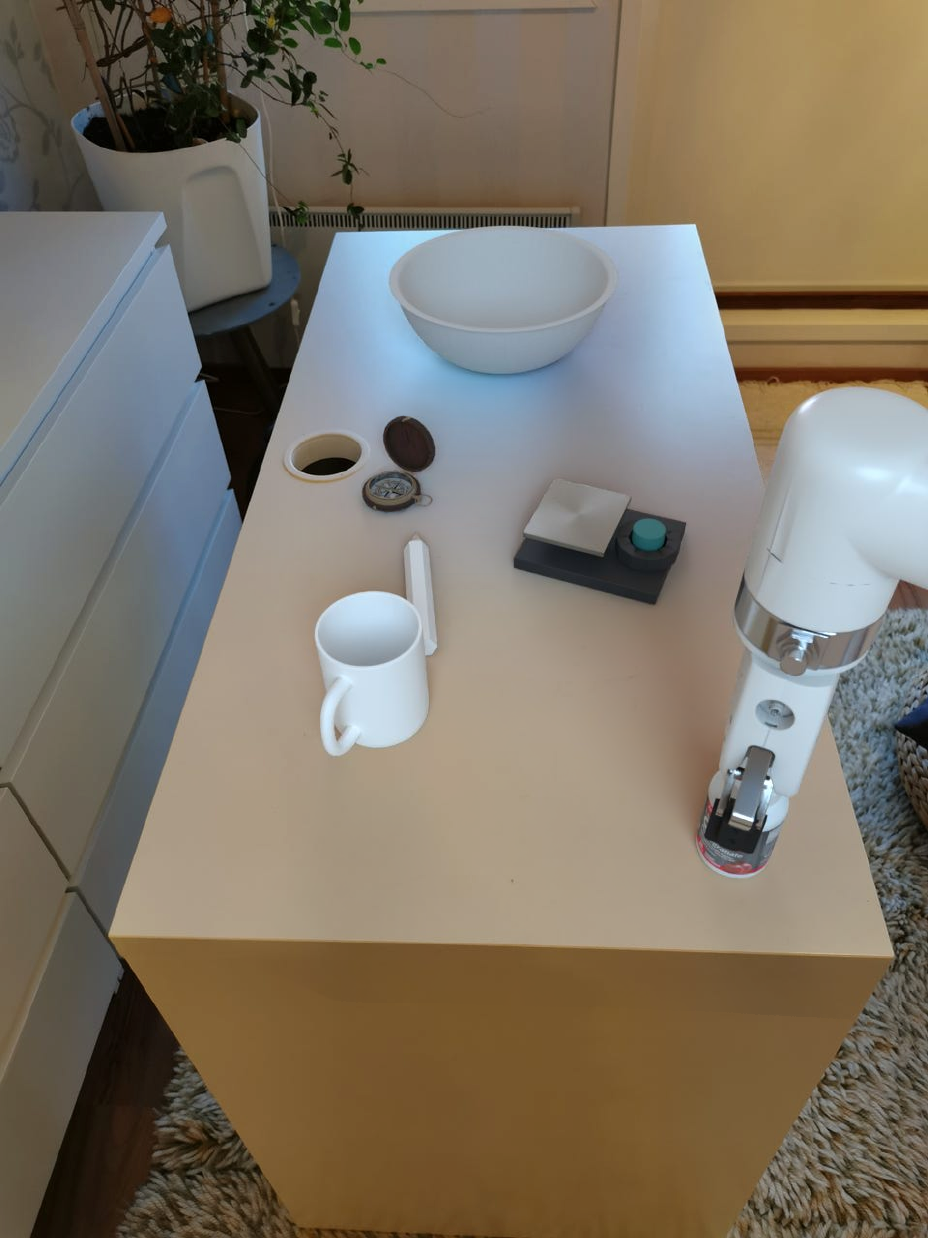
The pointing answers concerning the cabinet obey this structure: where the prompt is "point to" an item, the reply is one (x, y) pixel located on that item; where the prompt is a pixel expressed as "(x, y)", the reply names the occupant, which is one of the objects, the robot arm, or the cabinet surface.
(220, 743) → the cabinet surface
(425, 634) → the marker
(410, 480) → the compass
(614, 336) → the cabinet surface
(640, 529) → the button
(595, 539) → the pan
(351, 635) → the cup
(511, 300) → the bowl
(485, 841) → the cabinet surface
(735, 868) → the pill bottle
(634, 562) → the scale
